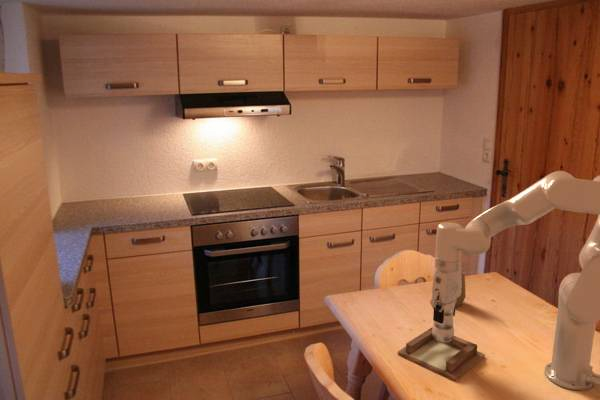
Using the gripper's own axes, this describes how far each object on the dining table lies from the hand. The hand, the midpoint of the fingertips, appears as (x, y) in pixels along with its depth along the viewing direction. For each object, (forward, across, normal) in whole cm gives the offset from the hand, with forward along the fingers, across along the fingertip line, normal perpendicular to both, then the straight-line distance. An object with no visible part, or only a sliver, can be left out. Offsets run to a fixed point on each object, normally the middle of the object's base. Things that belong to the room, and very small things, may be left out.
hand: (444, 317), depth 152 cm
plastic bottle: (+8, 0, 0) cm, 8 cm away
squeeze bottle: (+13, +36, +16) cm, 41 cm away
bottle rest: (+13, 0, 0) cm, 13 cm away
